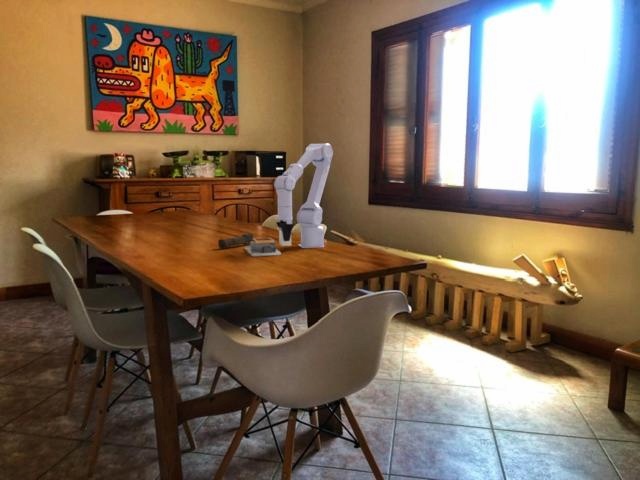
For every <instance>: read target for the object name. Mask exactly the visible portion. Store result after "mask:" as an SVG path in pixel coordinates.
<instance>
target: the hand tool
mask: <svg viewBox="0 0 640 480" xmlns="http://www.w3.org/2000/svg"><path fill="white" fill-rule="evenodd" d="M253 238H255V237H254V234H253V233H251V232H250V233H243V234H242V235H241V236H236V237H231V238H230V237H229V238H223V239H222V238H219V239H218V240H217V241H218V247H219V249H225V248H226V249H227V248H229V247H234V246H238V245H243V246H244V245H245V246H247V245H248V246H249V245H250V242H251V241H253V240H252V239H253Z"/></svg>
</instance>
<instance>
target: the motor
mask: <svg viewBox="0 0 640 480" xmlns="http://www.w3.org/2000/svg"><path fill="white" fill-rule="evenodd" d="M252 240H253V241H251V242H250V244H249V245H250V246H249V245H248V246H244V250H245V251H246V252H247V253H248V254H249V255H250V256H251V257H265V256H266V257H267V256H268V257H269V256H281V255H282V252H281V251H280V250H279V249H277V241H276V240H275V239H273V238H272V237H260V238H259V237H256V238H255V237H254V238H253V239H252Z"/></svg>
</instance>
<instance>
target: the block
mask: <svg viewBox="0 0 640 480" xmlns="http://www.w3.org/2000/svg"><path fill="white" fill-rule="evenodd" d="M278 232H279V233H278V235H279V236H278V238H279V239H278V240H279V241H278V242H279V243H278V245H280V246H281V247H286V246H287V247H289V246H290V247H291V246H292V235H291V236H290V240H289V241H284V239H283V233H282V229H281V227H279V228H278Z"/></svg>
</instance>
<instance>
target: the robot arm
mask: <svg viewBox="0 0 640 480" xmlns="http://www.w3.org/2000/svg"><path fill="white" fill-rule="evenodd" d="M333 150H334V149H333V147H332V145H331V144H330V143H310V144H309V145H308V146H307V147H306V148H305V152H304V153H303V154H302V156H301V157H300V158H299V160H298V161H297V162H296V163H291V164H290V165H289V167H288V168H287V169H286V170H285V171H284V172H283V173H282V174H281V175H278V176H277V177H276V178H275V179H274V180H275V181H274V183H273V186H274V188H275V190H276V191H275V192H276V195H277V216H275V217H274V219H275V220H278V221H277V222H276V225H277V228H278V229H279V227H281V229H282V233H283V239H284V241H289V240H290V236H291V237H292V231H293V228H294V226H295V223H293V219H294V218H293V190H294V189H295V186H296V183H297V181H298V179H299V178H301V176H302V175H303V173H304V169H305V168H306V167H307V166H308V165H309V164H310V163H312V164H313V166H315V167H316V168H315V172H314V175H313V179H312V182H311V186H310V189H309V193H308V196H307V199H306V202H305V203H303V204H302V205H300V209H299V211H298V212H297V214H296V222H297V223H298V224H299V226H300V244H297V245H298V247H300V248H302V249H311V248H313V249H314V248H325V230H324V226H323V225H320V224H321V223H322V222H323V211H324V210H323V208H322V207H321V206H320V203H321V201H322V200H321V199H322V195H323V193H324V189H325V185H326V182H327V180H328V179H327V178H328V175H329V171H330V167H331V162H332V158H333V156H334V155H333V154H334V151H333Z"/></svg>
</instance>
